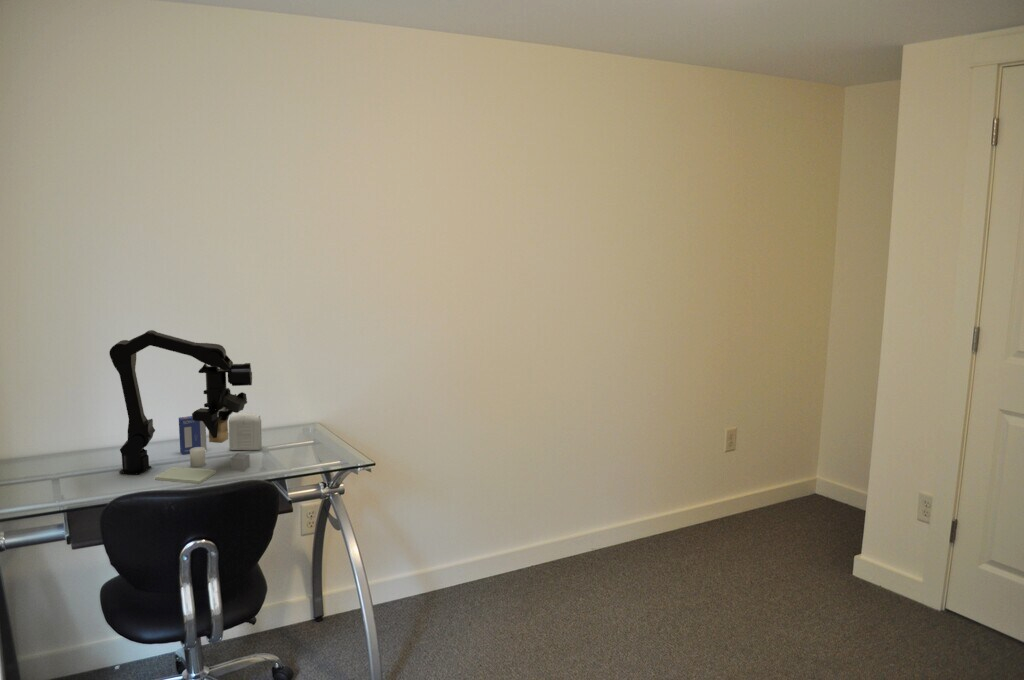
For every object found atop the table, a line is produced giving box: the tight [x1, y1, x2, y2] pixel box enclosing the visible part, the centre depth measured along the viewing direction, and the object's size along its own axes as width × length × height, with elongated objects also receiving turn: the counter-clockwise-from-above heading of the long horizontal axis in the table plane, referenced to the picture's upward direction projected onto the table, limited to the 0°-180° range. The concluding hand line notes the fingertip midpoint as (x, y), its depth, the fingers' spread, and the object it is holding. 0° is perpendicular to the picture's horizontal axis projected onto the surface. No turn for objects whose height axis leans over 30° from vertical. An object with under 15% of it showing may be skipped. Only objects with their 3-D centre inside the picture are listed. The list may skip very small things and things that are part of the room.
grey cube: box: [230, 453, 251, 472], centre depth 231 cm, size 4×4×4 cm
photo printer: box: [228, 412, 263, 451], centre depth 248 cm, size 10×4×12 cm, turn 98°
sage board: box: [154, 466, 217, 484], centre depth 223 cm, size 14×9×1 cm, turn 82°
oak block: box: [208, 420, 229, 444], centre depth 231 cm, size 4×4×6 cm
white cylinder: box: [189, 447, 207, 468], centre depth 233 cm, size 4×4×5 cm
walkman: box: [178, 415, 208, 455], centre depth 244 cm, size 8×3×12 cm, turn 125°
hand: (218, 435), depth 231 cm, fingers closed on oak block, 4 cm apart
